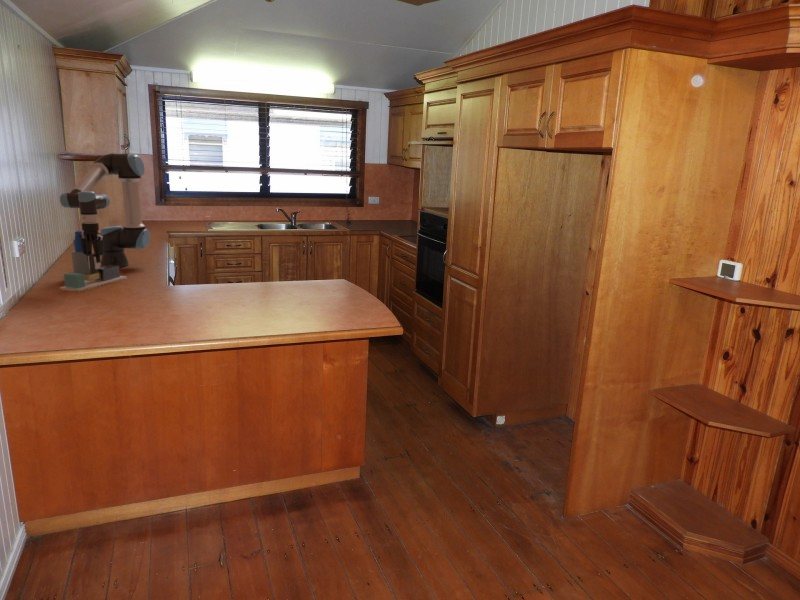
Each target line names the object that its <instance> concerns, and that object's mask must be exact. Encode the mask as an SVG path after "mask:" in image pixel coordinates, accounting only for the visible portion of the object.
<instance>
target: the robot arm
mask: <svg viewBox="0 0 800 600" xmlns="http://www.w3.org/2000/svg"><path fill="white" fill-rule="evenodd" d="M144 174H145V165H144V161H143V160H142V158H141V157H140V156H139V155H137V154H135V153H132V154H131V153H107V154H104V155H102V156H100V157H99V158H98V159H96V160H95V161H93V163H92V164H90V168H89V171H87V172H86V173H85V175H84V176H83V177H82V178H81V179H80V181H78V183H77V184H76V185H75V186H74V187H73V189H71V191H70V192H63V193H61V194H60V197H59V202H60V205H61V206H62V207H63V208H69V209H79V211H80V213H79V214H80V221H81V231H83V234H82V235H79V237H80V239H81V245H82V250H83V254H86V255H87V261H88V262H89V254H90V253H95V256H94V263H95V269H100V267H101V266H102V267H103V266H107V265H116V266H119V268H122V266H124V267H127V265H128V266H129V264H130V262H129V259H128V257H127V255H126V253H125V249H131V250H133V249H135V250H145V249H146V248H148V246H149V244H150V241H151V233H150V230H149V229H147V228H146V225H145V224H144V223H143V220H142V209H141V208H142V207H141V206H142V205H141V197H140V186H139V184H140V183H139V181H140V180H141V179H142V176H143V175H144ZM112 175H114V176H115V175H117V177H118V180H120V181H121V187H122V196H123V197H122V198H123V206H124V207H123V208H124V217H125V224H124V225H123V226H122V225H113V226H105V227H103V228H101V229H100V226H99V217H98V210H101V209H105V208H107V207H108V206H109V205H110V203H111V201H110V197H109V196H108V195H107V194H105V193H95V191H94V190H95V189H96V188H97V187H98V185H99V184H100V183H101V182H102V180H103V179H106V178H107V177H109V176H112ZM99 229H100V232H99ZM92 248H93V249H92ZM92 251H93V252H92ZM97 253H98V254H97ZM89 269H90V263H89Z"/></svg>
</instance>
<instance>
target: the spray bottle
mask: <svg viewBox="0 0 800 600" xmlns="http://www.w3.org/2000/svg"><path fill="white" fill-rule="evenodd" d="M83 232H84V231H83V230H77V231H74V239H73V248H74V250H72V251H71V258H72V266H73V273H80V274H84V275H85V274H89V273H91V272H90V269H89V262H88V261H87V255H86V254H83V250H82V245H81V239H80V237H79V235H82V234H83Z"/></svg>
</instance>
